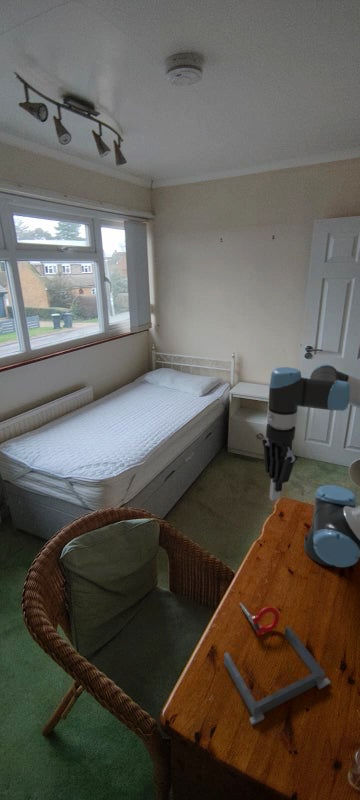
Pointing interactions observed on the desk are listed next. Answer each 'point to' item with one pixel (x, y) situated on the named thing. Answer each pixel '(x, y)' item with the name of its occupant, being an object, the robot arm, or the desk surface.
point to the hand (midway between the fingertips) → (274, 498)
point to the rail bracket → (285, 693)
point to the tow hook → (256, 619)
